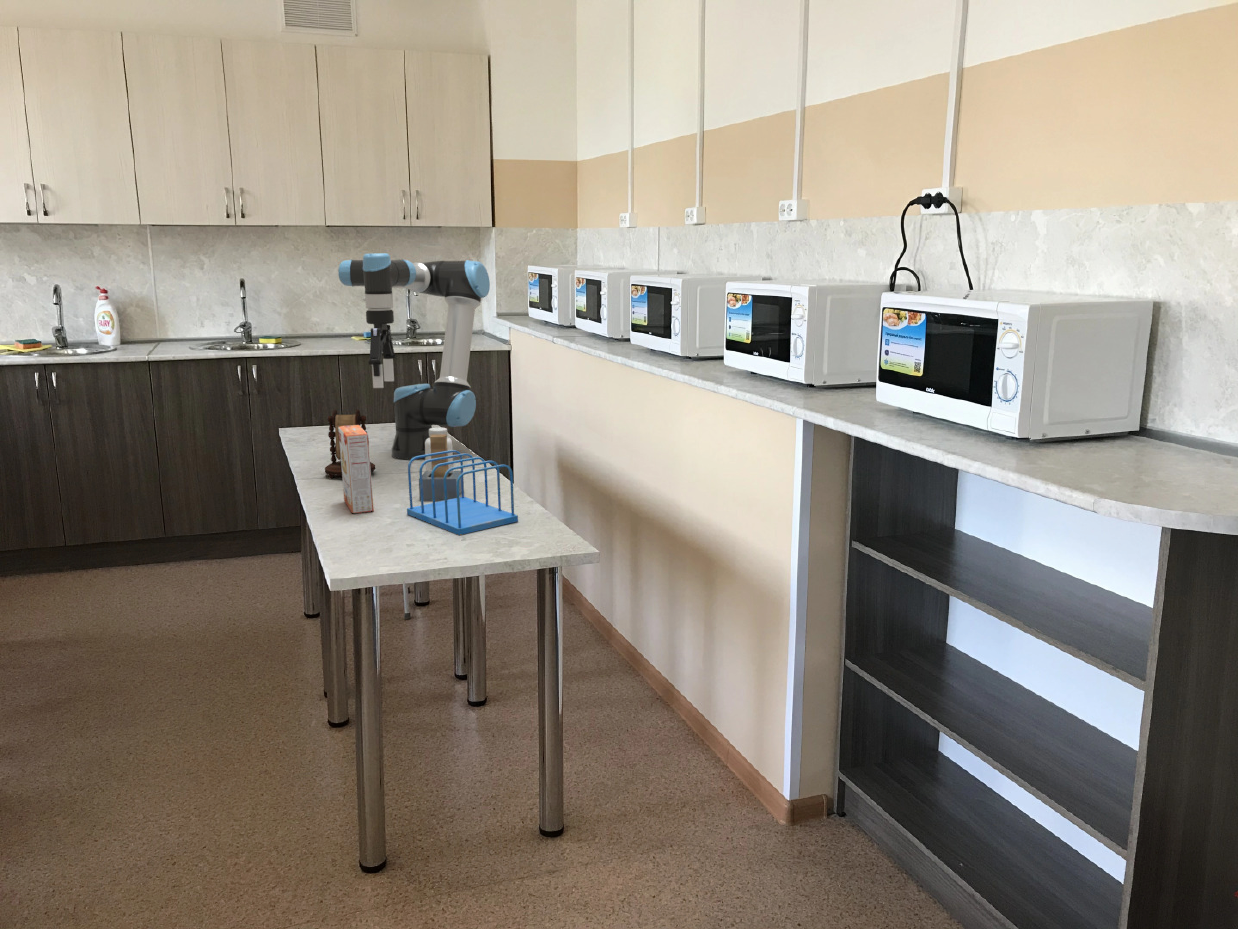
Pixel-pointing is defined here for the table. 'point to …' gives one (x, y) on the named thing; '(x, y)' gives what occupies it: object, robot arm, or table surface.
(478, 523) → the file sorter
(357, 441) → the cracker box
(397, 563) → the table surface
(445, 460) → the long wooden beam
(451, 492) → the grey square sleeve
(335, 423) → the scroll
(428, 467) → the pill bottle
